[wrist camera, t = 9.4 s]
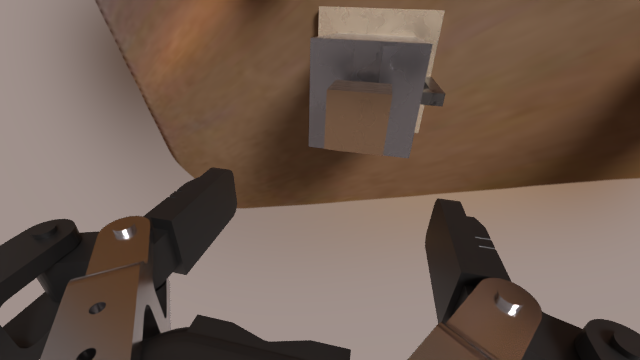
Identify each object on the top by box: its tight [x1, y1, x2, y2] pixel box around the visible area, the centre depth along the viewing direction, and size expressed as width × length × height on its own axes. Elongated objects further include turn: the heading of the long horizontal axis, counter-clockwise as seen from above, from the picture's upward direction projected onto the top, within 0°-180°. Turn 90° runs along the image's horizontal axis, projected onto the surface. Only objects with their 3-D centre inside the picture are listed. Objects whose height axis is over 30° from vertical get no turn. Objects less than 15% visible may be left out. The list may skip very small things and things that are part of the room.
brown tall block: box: [324, 80, 392, 156], centre depth 29 cm, size 7×7×21 cm
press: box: [309, 6, 445, 158], centre depth 34 cm, size 16×16×18 cm
